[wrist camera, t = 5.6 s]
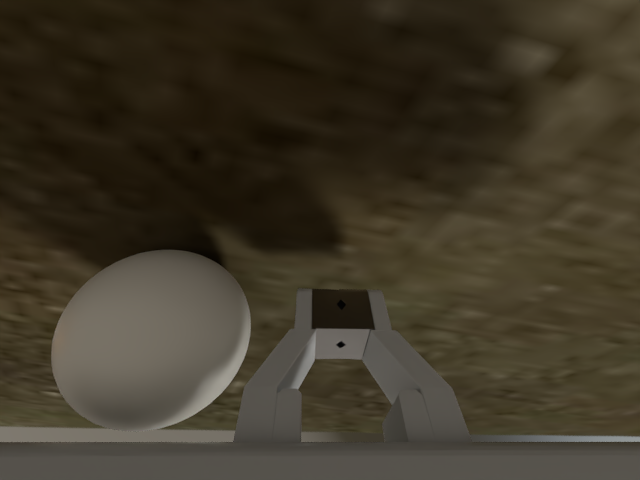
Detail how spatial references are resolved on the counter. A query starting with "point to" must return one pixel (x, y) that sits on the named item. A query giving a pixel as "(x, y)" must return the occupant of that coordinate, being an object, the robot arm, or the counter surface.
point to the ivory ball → (151, 340)
